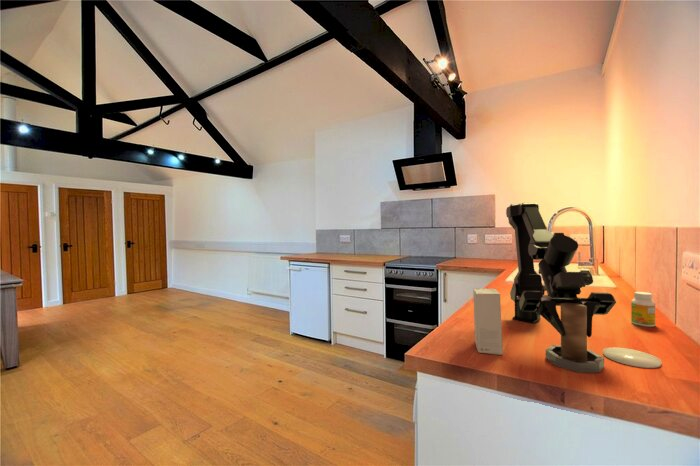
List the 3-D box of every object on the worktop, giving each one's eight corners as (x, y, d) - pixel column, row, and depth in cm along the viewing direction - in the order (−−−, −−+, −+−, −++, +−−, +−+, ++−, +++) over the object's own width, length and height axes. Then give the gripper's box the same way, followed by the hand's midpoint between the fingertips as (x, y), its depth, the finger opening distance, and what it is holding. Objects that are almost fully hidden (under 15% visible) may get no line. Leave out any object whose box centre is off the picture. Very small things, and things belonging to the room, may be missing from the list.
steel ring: (540, 361, 71) (540, 353, 71) (555, 350, 77) (555, 342, 77) (595, 377, 63) (595, 367, 63) (607, 362, 69) (607, 354, 69)
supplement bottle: (626, 322, 98) (626, 291, 98) (642, 321, 99) (641, 290, 98) (644, 327, 93) (643, 295, 93) (660, 326, 93) (660, 294, 93)
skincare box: (503, 355, 74) (502, 294, 74) (476, 353, 76) (475, 293, 76) (497, 343, 82) (497, 287, 82) (473, 341, 84) (472, 286, 84)
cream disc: (598, 357, 72) (598, 355, 72) (608, 346, 79) (608, 344, 79) (658, 372, 65) (658, 369, 65) (663, 358, 71) (663, 356, 71)
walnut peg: (558, 362, 70) (557, 305, 70) (564, 356, 73) (564, 301, 73) (583, 369, 67) (583, 309, 67) (589, 362, 70) (589, 305, 70)
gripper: (522, 257, 76) (538, 315, 65) (611, 258, 71) (644, 319, 61) (513, 284, 84) (527, 339, 73) (593, 285, 79) (620, 344, 69)
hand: (576, 335), depth 69 cm, fingers closed on walnut peg, 5 cm apart
